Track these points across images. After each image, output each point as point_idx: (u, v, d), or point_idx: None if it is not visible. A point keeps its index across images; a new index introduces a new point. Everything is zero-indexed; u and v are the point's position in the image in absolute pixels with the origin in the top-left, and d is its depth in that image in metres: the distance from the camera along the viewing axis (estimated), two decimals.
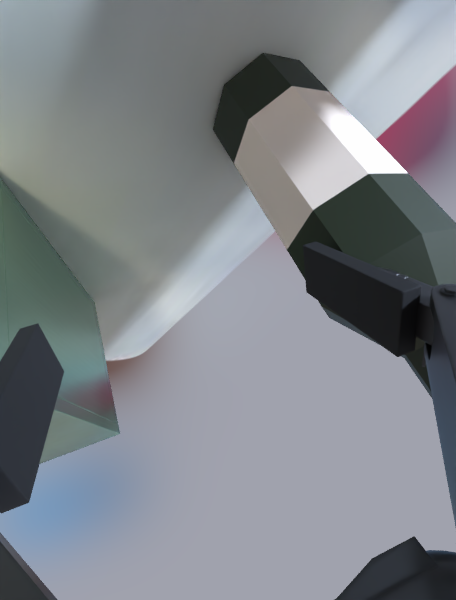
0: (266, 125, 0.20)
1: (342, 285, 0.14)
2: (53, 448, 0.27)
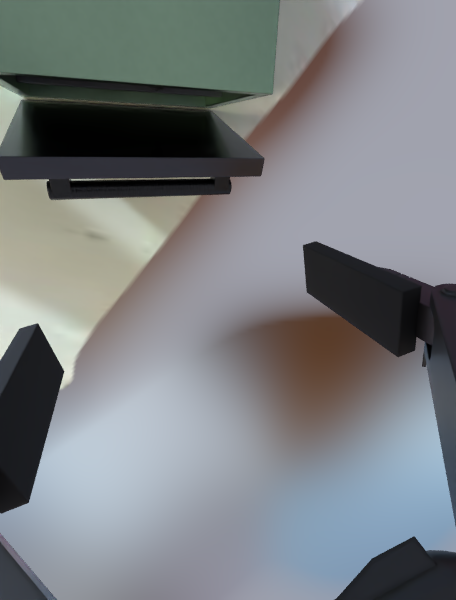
0: None
1: (342, 285, 0.14)
2: None
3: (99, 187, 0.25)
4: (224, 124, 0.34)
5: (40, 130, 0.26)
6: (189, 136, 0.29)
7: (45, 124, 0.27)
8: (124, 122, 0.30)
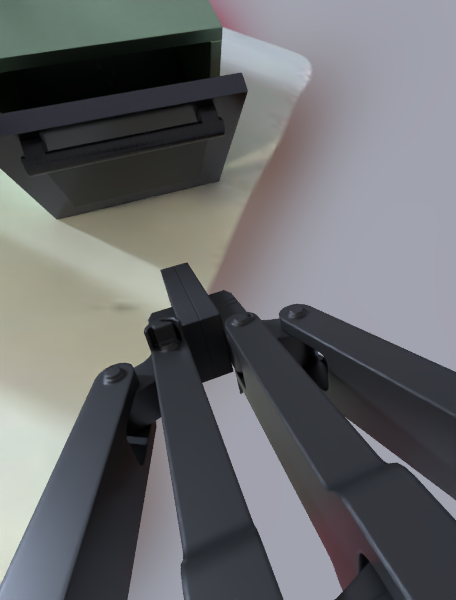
0: None
1: None
2: None
3: (75, 146, 0.23)
4: None
5: None
6: None
7: None
8: None
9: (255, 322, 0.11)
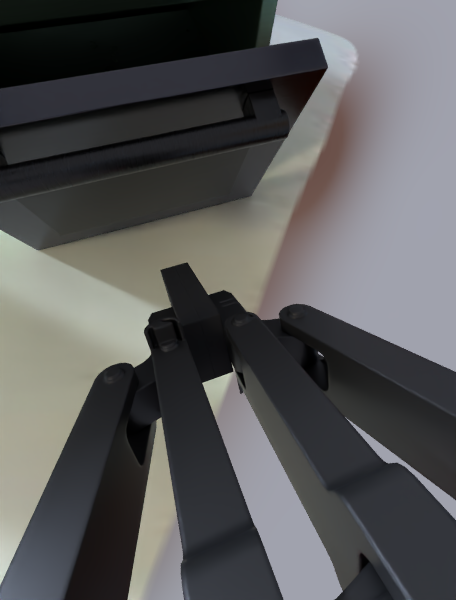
0: None
1: None
2: None
3: (49, 157, 0.14)
4: None
5: None
6: None
7: None
8: None
9: (255, 322, 0.11)
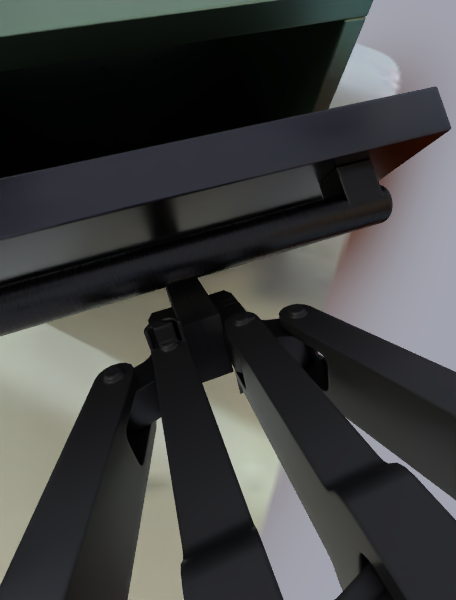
0: None
1: None
2: None
3: (52, 278, 0.09)
4: None
5: None
6: None
7: None
8: None
9: (255, 322, 0.11)
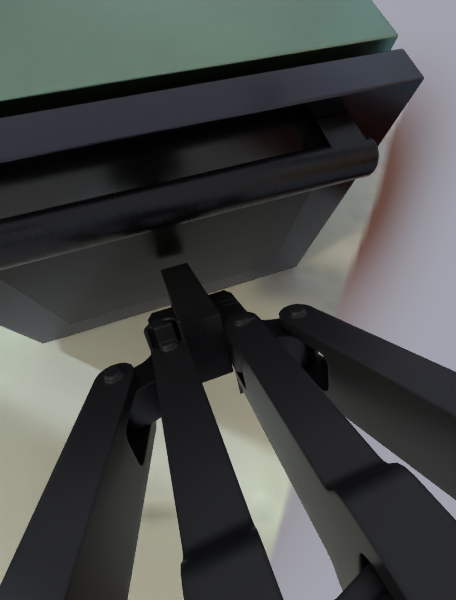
0: None
1: None
2: None
3: (33, 212, 0.09)
4: None
5: None
6: None
7: None
8: None
9: (255, 322, 0.11)
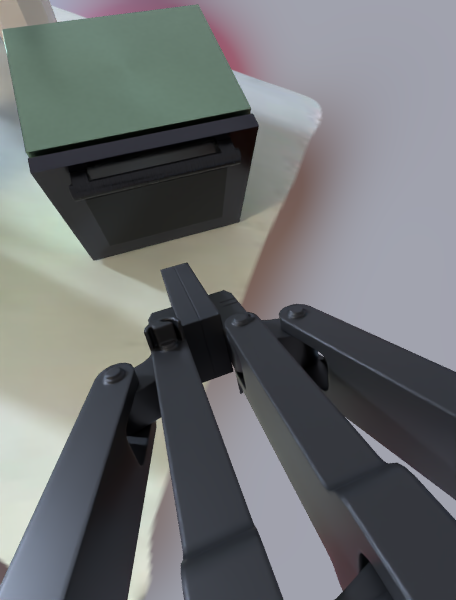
0: None
1: None
2: (170, 36, 0.32)
3: (113, 175, 0.27)
4: None
5: None
6: None
7: None
8: None
9: (255, 322, 0.11)
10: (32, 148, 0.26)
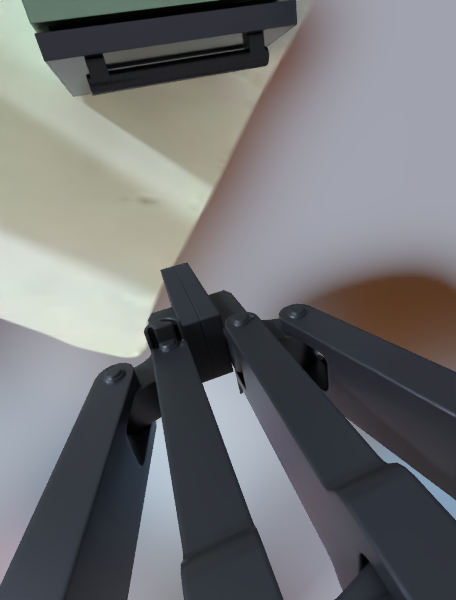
0: None
1: None
2: None
3: (135, 69, 0.25)
4: None
5: None
6: None
7: None
8: None
9: (255, 322, 0.11)
10: (37, 17, 0.21)
